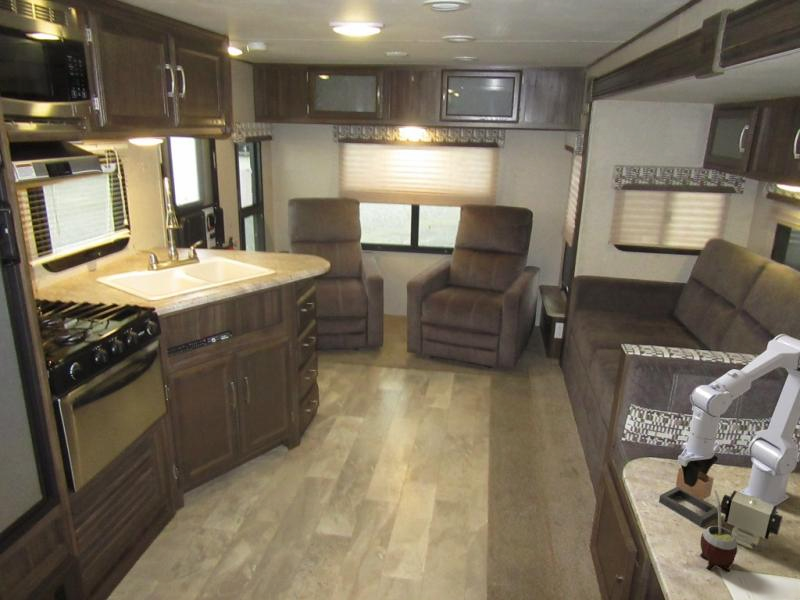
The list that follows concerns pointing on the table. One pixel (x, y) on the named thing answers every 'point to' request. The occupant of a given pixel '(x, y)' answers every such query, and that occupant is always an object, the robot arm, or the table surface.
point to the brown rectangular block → (696, 485)
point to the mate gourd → (718, 545)
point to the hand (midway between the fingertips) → (693, 482)
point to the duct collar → (685, 512)
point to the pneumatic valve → (750, 518)
